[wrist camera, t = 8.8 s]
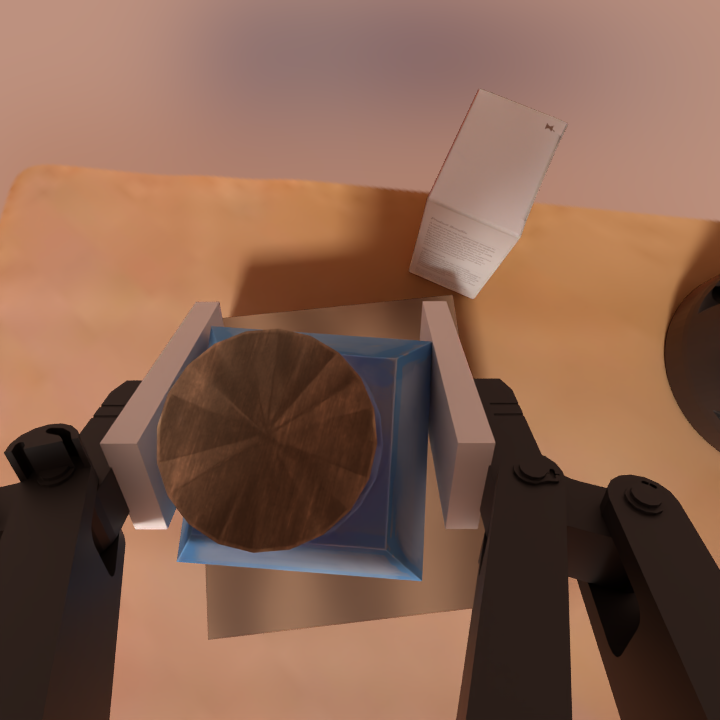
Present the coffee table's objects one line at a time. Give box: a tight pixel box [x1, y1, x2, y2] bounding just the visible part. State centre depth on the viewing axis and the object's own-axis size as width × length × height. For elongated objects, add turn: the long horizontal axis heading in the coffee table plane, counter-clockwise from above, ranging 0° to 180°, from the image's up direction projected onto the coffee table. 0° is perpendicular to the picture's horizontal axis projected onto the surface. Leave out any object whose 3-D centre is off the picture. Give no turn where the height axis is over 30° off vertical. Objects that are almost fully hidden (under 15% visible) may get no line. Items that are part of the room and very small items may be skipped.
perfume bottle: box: [157, 326, 432, 581], centre depth 13 cm, size 6×6×12 cm
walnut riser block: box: [206, 295, 485, 640], centre depth 30 cm, size 16×18×6 cm
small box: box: [409, 89, 568, 299], centre depth 31 cm, size 8×6×10 cm
